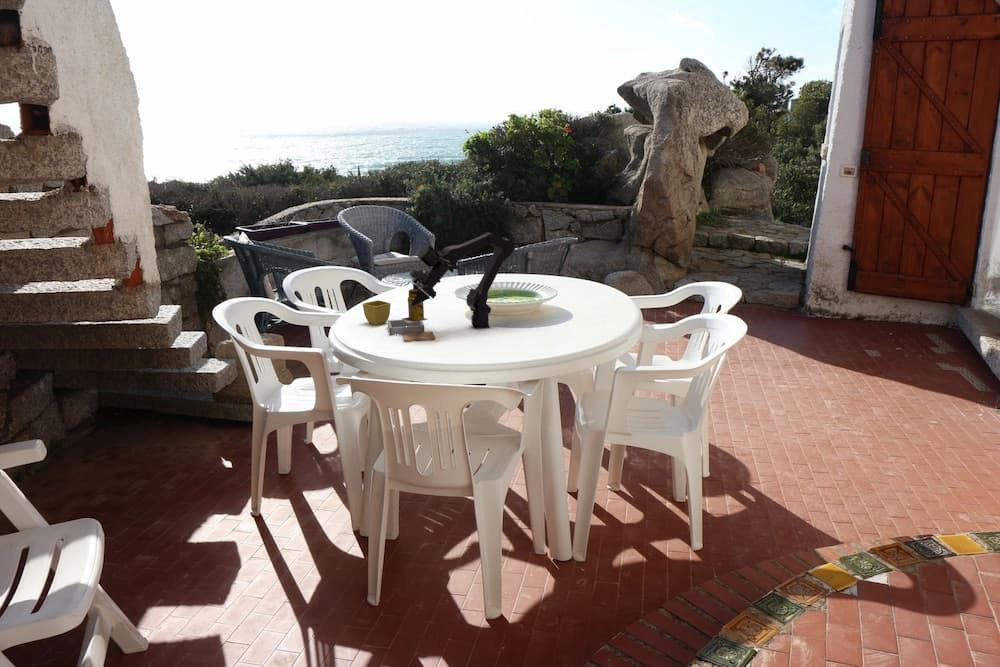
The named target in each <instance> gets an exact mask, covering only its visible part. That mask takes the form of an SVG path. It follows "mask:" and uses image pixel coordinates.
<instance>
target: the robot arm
mask: <svg viewBox="0 0 1000 667" xmlns="http://www.w3.org/2000/svg"><path fill="white" fill-rule="evenodd" d="M487 245H490V246H493V247H494V248H493V254H492V255H493V256H492V258H491V260H490V262H489V264H488V266H487V268H486V269H485V272H484V273H483V276H482V278H481V279H480V281H479V283H478V285H477V287H476V288H470V289H469V291H468V292H469V293H468V294H467V295H466V299H465V300H466V305H467V306H468V307H469V310H470V311H472V315H471V321H470V322H471V324H470V325H471V326H472V327H473V329H485V328H486V327H488V328H490V327H491V326H490V318H489V314H491V311H492V307H491V306H490V305H488V304H487V303H488V299H489V298H488V296H489V291H490V289H491V286H492V285H493V283H494V282H495V279H496V277H497V276H498V273H499V271H500V270H501V268H502V266H503V264H504V262H505V261H506V260H507V259H509V258H510V257H511V256H512V254H513V253H514V251H515V250H516V244H515V242H514V241H513V240H511V239H509V238H503V237H500V236H497V235H496V234H494V233H490V232H485V233H484V234H482V235H479V236H478V237H475V238H473V239H471V240H468V241H465V242H463V243H461V244H456V245H450V246H445V247H444V248H443V249H442V250H440V251H436V250H435V249H434V248H433V246H432V245H430V244H427V245H426V247H424V248H422V249H421V250H420V251H419V252H418V254H417V259H419V260H420V261H421V262H422V263H424V264H425V265H426V267H428V268H429V267H431V268H429V270H425V271H424V270H423V269H420V268H418V269H416V268H413V267H411V268H410V271H409V276H410V277H411V278H413V279H412V280H411V282H412V289H418V294H417V295H416V297H415V298H414V300H413V302H412V303H411V305H412V306H414V305H416V304H419V303H421V302H423V303H424V301H427V300H430V299H433V300H434V299H435V298H436V296H437V291H436V290H435V289H434V287H435V286H436V285H437V284H440V283H441V280H442V278H443V277H444V276H445V275H446V273H448V271H449V272H451V273H452V274H453V273H454V265H452V264H456V263H458V262H459V261H461V260H462V259H463V258H465V256H466V255H468V254H469V253H472V252H474V251H477V250H479V249H481V248H483V247H485V246H487ZM440 259H441V260H440ZM448 262H449V263H451V264H449V263H448ZM486 329H487V328H486Z"/></svg>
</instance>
